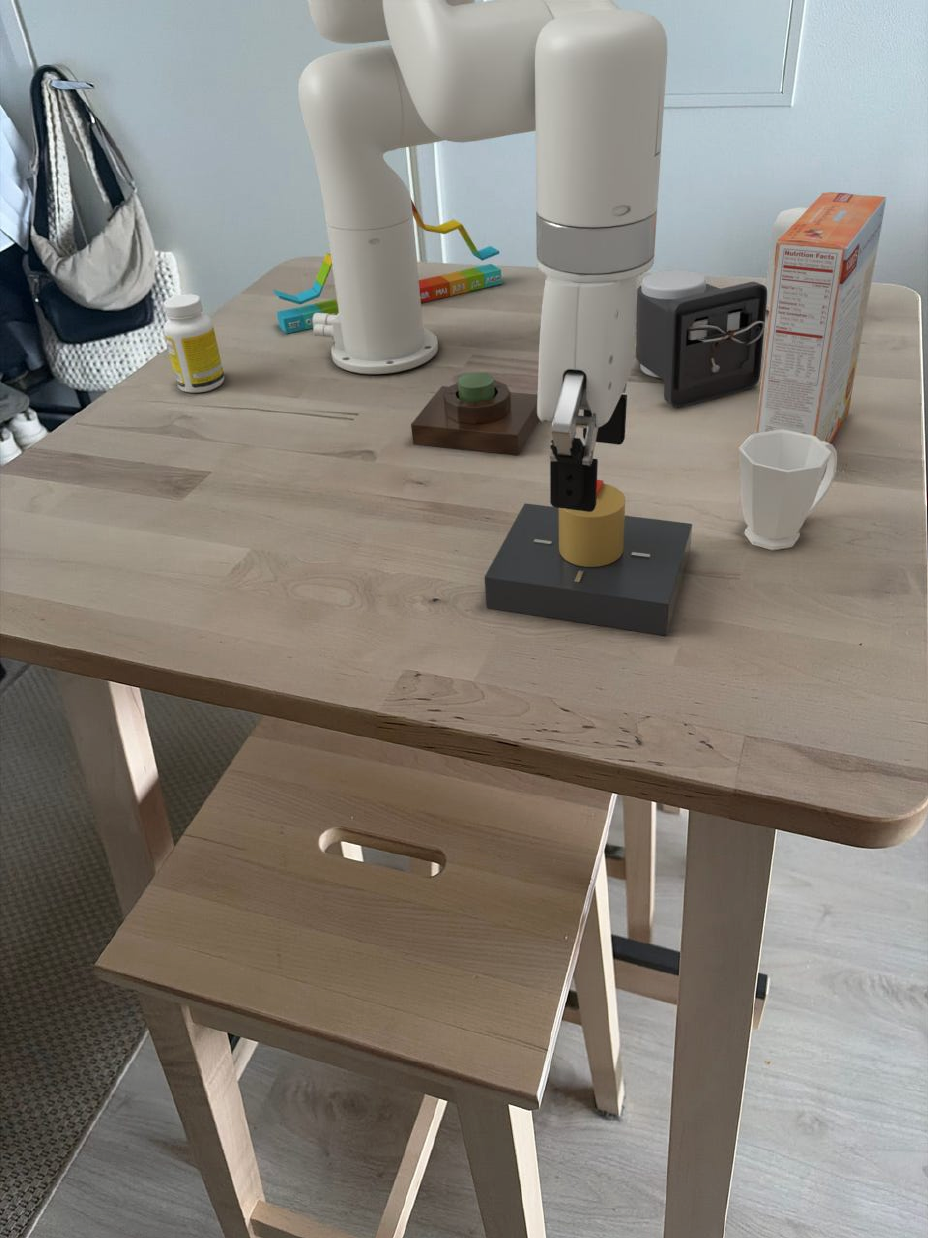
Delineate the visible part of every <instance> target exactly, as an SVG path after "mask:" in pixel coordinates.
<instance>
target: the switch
mask: <svg viewBox="0 0 928 1238" xmlns="http://www.w3.org/2000/svg"><path fill="white" fill-rule="evenodd" d="M494 380H495V377H494V376H493V375H492V374H490V373H488V372H480V371H477V372H469V373H466V374H463V375H461V376H460V377H459V378H458V379H457V383H458V392H459V399H460V400H463V401H466V402H482V401H487V400H489V399H492V398H494V397H495V387H494Z"/></svg>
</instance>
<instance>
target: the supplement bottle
mask: <svg viewBox="0 0 928 1238" xmlns="http://www.w3.org/2000/svg"><path fill="white" fill-rule="evenodd" d="M163 307H164V312H165V316H166V317H167V318H169V319H168V320H166V321H165V322H164V324H163V328H162V329H163V334H164V339H165V342H166V346H167V349H168V354H169V357H170V358H169V359H170V361H171V365H172V370H173V373H174V377H175V381H176V385H177V387H178V389H179V390H180V391H182V392H185V393H192V394H197V393H204V392H209V391H213V390H215V389H217V388H218V387H220V386H221V385H222V384H223V383H224V381H225V373H224V368H223V363H222V359H221V355H220V350H219V345H218V341H217V337H216V332H215V329H214V328H215V327H214V325H213V321H212V318H210V316H208V315H206V314H204V313H202V312H203V310H204V309H203V304H202V301H201V297H200V296H199V295H197V294H192V293H185V294H177V295H174V296H171V297H168V298H166V299H165V300H164V302H163Z"/></svg>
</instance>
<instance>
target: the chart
mask: <svg viewBox="0 0 928 1238" xmlns="http://www.w3.org/2000/svg"><path fill="white" fill-rule="evenodd" d="M411 203H412V213H413V219H414V220H415V222H416V224H417V226H418V227H419V228H421V230H424V231H426V232H430V233H435V234H441V235H446V234H449V233H452V232H453V231H456V230H458V232H459V233H460V235H461V237H462V238H463V240H464V242H465V243H466V246H467V247H468V249H469V251H470V252H471V254H472V255H473V257H475V258H477V259H478V260H480V261H482V262H483V261H485V260H488V259H491V258H493V257H494V256H497V255H500V250H499V249H497V248H495V247H494V246H491V245H488V246H486V247H484V248H482V249H479V250H478V248H477V247H476V245H475V244H474V242H473V241H472V240H473V239H472V238H471V237H470V235H469V234H468V232H467V230H466V228H465V227H464V225H463V223H461V222H459V221H458V220H456V219H454V218H453V219H451V220H449V221H446V222H444V223H441V224H439V225H430V224H425V223H424V221H423V219H422V216H421V215H420V213H419V211H418V209H417V208H416V206H415V203H414V201H413V200H412V198H411ZM331 269H332V261H331V254H330V253H327V252H326V253H325V255H324V258H323V261H322V262H321V265H320V267H319V271H318V273H317V275H316V278H315V280H314V283H313V285H312V287H311V288H309V289H306V290H304V291H302V292H299V293H297V294H290V293H286V292H283V291H279V290H276V289H272V292H273V293H274V295H275V296H276V297H277V298H278V299H280V300H283V301H287V302H290V303H293V304H296V305H300V306H296V307H292V308H288V309H283V310H280V311H276V316H277V320H278V321H277V322H278V327H279V328H280V329H281V330H282V331H283V332H284V333H285V334H286V335H287V334H291V333H296V332H300V331H301V332H302V331H304V330H309V329H314V327H313V316H314V314H315V313H327V314H331V315H337V314H338V313H339V310H338V303H337V298H333V299H328V300H324V301H319V302H315V303H311V304H306V303H308V302H310V301H312V300H315V299H317V298H319V297H320V296H321V294H322V291H323V289H324V287H325V284H326V282H327V279H328V277H329V274H330V272H331ZM498 285H502V269H500V268H499V267H498V266H496V265H495V264H493V263H488V264H483V265H478V266H475V267H471V268H466V269H462V270H457V271H454V272H450V273H445V274H440V275H436V276H431V277H427V278H421V279H419V289H420V300H421V304H422V303H426V302H430V301H435V300H439V299H443V298H444V299H445V298H447V297H448V298H449V297H452V296H456V295H461V294H465V293H468V292H472V291H477V290H482V289H485V288H490V287H493V286H498ZM303 304H306V305H303Z"/></svg>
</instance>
